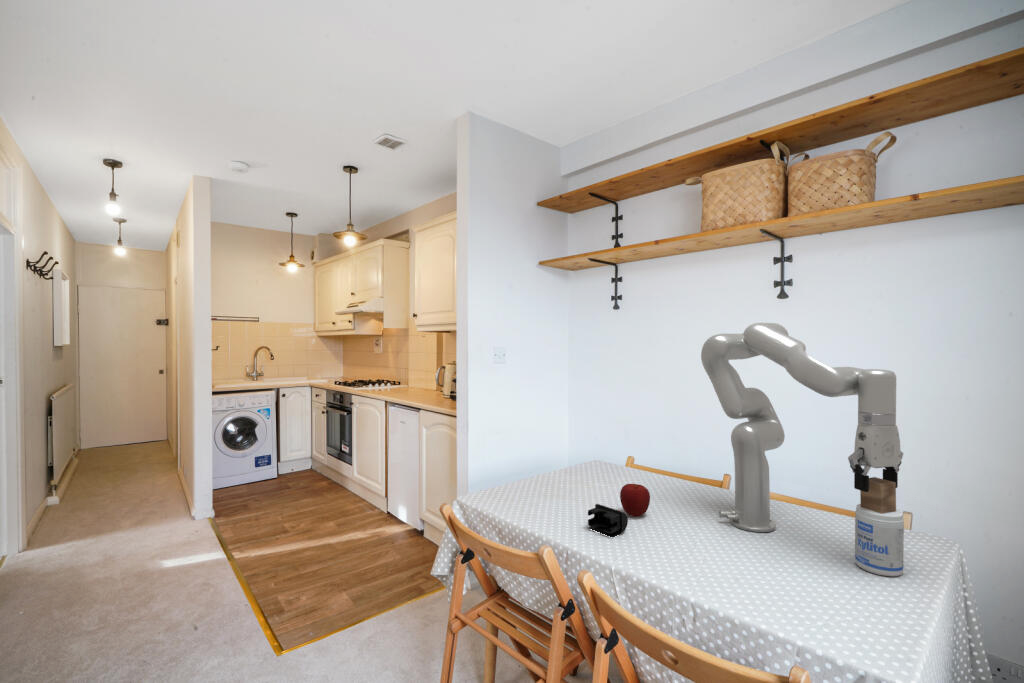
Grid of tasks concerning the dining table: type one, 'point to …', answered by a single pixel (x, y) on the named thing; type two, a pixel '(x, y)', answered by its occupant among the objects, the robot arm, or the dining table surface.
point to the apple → (635, 499)
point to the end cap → (607, 520)
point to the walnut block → (879, 496)
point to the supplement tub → (879, 541)
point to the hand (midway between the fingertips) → (875, 488)
